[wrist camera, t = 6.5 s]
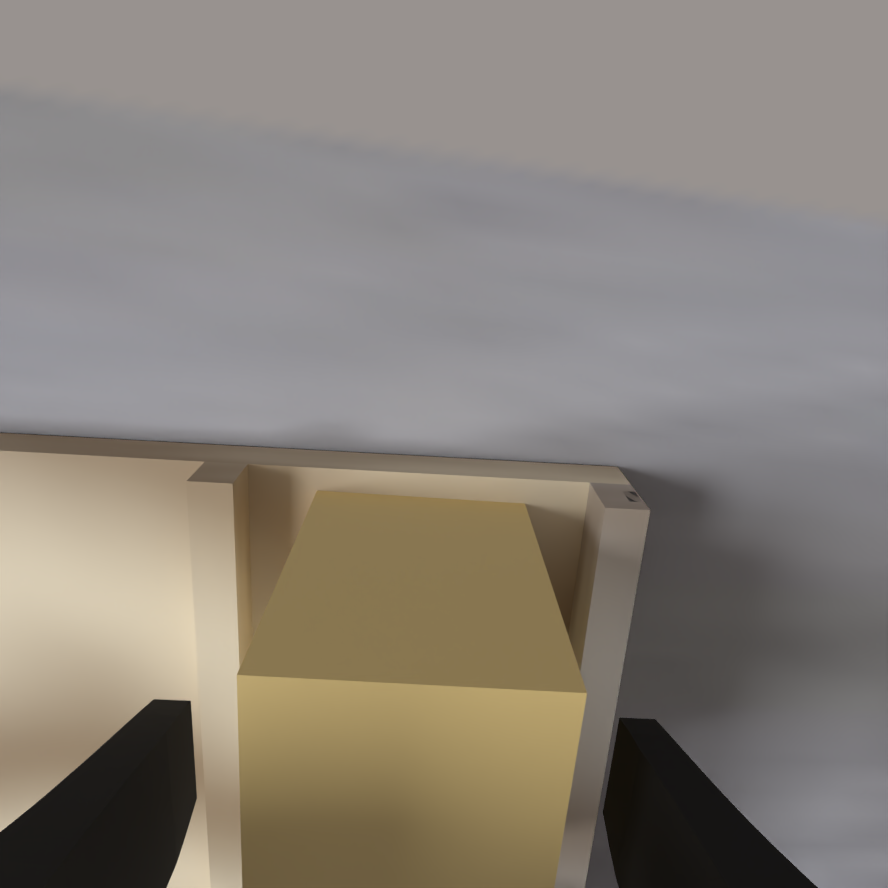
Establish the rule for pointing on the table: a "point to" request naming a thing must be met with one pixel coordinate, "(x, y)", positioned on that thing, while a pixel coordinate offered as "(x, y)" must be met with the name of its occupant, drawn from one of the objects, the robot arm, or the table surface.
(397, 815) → the ochre carton
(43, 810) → the robot arm
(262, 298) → the table surface
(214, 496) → the beige divided tray
